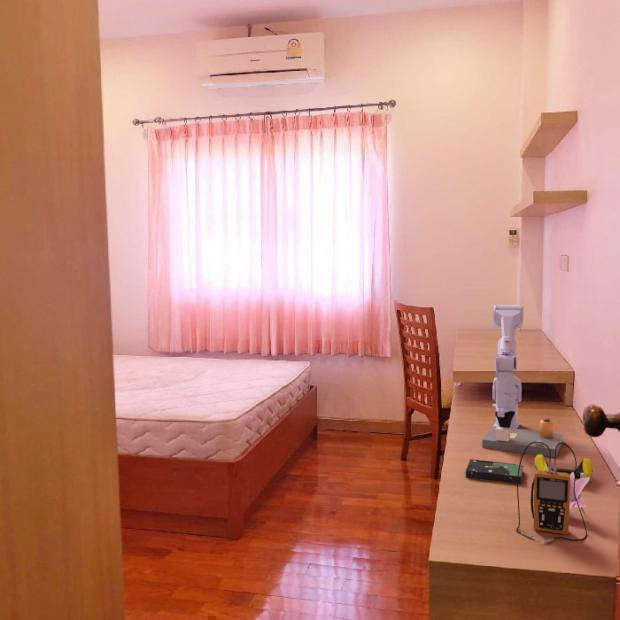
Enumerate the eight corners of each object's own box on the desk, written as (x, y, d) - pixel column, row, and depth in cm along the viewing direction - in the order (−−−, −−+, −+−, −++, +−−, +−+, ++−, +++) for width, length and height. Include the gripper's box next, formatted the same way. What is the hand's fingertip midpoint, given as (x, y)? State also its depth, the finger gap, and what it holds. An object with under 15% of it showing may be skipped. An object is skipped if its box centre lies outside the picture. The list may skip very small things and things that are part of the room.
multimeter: (514, 542, 130) (516, 450, 128) (516, 523, 139) (518, 437, 138) (590, 553, 125) (593, 458, 123) (586, 532, 134) (589, 444, 133)
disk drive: (465, 480, 168) (522, 486, 163) (465, 470, 168) (522, 476, 163) (469, 468, 178) (523, 473, 173) (469, 458, 178) (523, 463, 173)
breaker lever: (497, 437, 196) (497, 426, 196) (510, 439, 194) (510, 427, 194) (495, 439, 193) (495, 428, 193) (508, 441, 191) (508, 430, 191)
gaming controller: (533, 471, 173) (535, 483, 164) (534, 452, 173) (536, 463, 163) (591, 476, 169) (597, 489, 160) (591, 457, 169) (597, 469, 159)
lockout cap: (540, 434, 201) (541, 417, 200) (553, 435, 199) (554, 418, 198) (538, 437, 197) (539, 420, 197) (552, 438, 195) (552, 421, 195)
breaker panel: (494, 432, 211) (494, 422, 211) (562, 441, 200) (563, 430, 200) (482, 447, 195) (482, 435, 195) (555, 457, 185) (556, 445, 184)
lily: (550, 504, 152) (536, 474, 150) (599, 492, 148) (584, 461, 146) (557, 539, 142) (541, 508, 139) (610, 527, 137) (594, 494, 135)
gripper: (497, 386, 203) (496, 426, 204) (487, 395, 191) (487, 438, 192) (519, 388, 200) (518, 429, 201) (511, 397, 187) (510, 441, 188)
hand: (504, 434), depth 196 cm, fingers closed
